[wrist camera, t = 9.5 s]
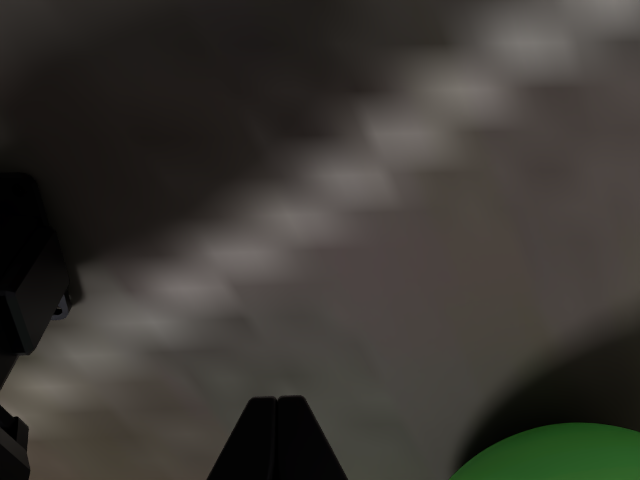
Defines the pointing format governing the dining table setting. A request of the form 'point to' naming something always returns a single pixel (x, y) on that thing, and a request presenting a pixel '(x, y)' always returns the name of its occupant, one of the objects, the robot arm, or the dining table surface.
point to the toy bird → (559, 455)
